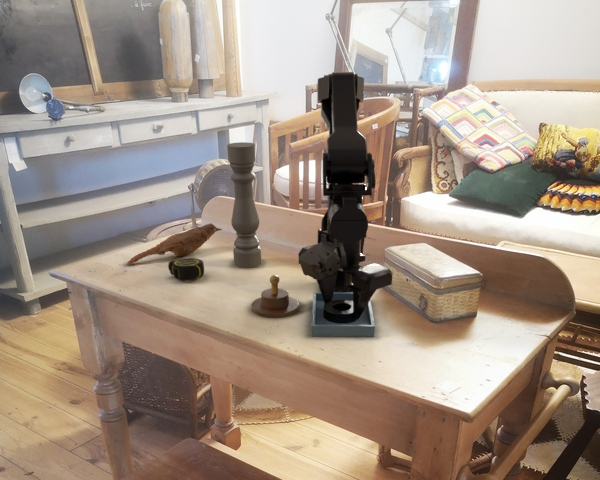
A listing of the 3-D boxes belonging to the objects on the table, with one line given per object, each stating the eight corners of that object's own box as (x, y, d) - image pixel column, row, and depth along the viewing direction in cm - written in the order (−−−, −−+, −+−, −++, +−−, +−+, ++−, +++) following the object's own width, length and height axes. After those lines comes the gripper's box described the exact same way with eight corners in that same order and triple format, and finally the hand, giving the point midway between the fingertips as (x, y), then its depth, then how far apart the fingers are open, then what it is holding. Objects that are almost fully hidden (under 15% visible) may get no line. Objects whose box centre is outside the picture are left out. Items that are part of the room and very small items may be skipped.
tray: (313, 301, 115) (313, 292, 114) (368, 302, 115) (369, 292, 114) (311, 336, 102) (311, 325, 101) (374, 336, 102) (375, 326, 101)
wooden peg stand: (254, 298, 117) (252, 266, 113) (299, 298, 116) (299, 267, 113) (249, 317, 109) (247, 284, 106) (298, 318, 109) (297, 284, 105)
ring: (323, 308, 111) (323, 299, 110) (358, 308, 111) (359, 299, 110) (323, 323, 106) (323, 314, 105) (360, 323, 105) (361, 314, 104)
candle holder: (257, 268, 131) (251, 147, 118) (230, 267, 132) (221, 146, 119) (264, 259, 136) (259, 142, 123) (238, 258, 137) (231, 141, 124)
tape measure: (200, 270, 130) (198, 254, 128) (208, 281, 125) (207, 263, 123) (169, 275, 128) (167, 258, 126) (177, 286, 123) (174, 268, 121)
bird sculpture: (126, 271, 137) (119, 251, 134) (217, 234, 148) (213, 214, 144) (138, 280, 133) (131, 259, 130) (231, 241, 143) (227, 221, 140)
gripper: (273, 222, 102) (275, 306, 110) (345, 248, 89) (342, 342, 97) (323, 211, 107) (322, 292, 116) (397, 234, 95) (390, 323, 103)
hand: (342, 311), depth 108 cm, fingers open, 8 cm apart
